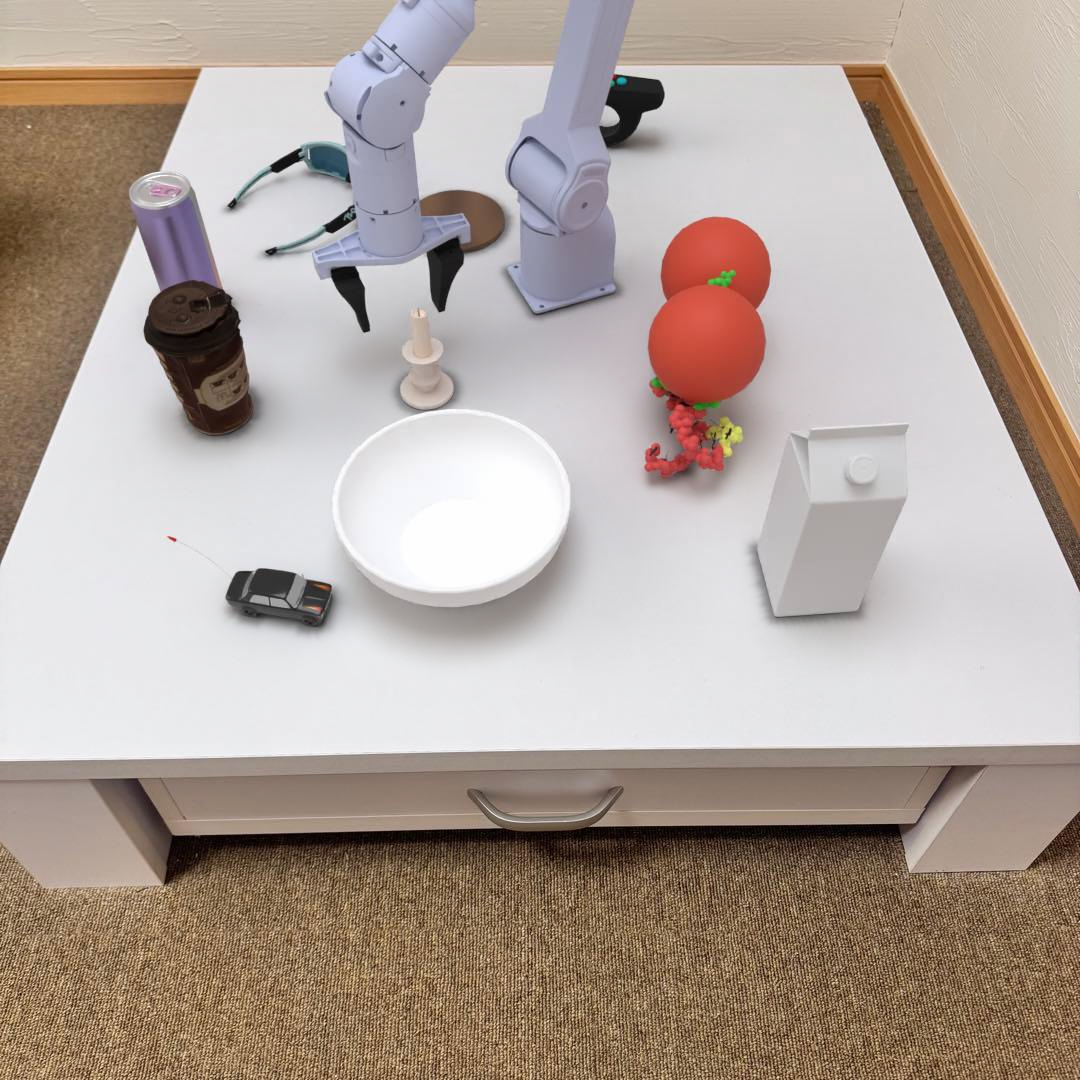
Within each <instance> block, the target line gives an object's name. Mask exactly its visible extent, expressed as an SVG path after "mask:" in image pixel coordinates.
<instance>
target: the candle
mask: <svg viewBox="0 0 1080 1080" xmlns="http://www.w3.org/2000/svg"><path fill="white" fill-rule="evenodd" d="M410 325H411V327H410V328H411V336H412V338H410V339H408V340H407V341H406V342H405V343H404V344H403V346H402V348H401V354H402V357H403V358H404V360H405V361H407V362H408V363H409V364H411V367H410V369H409V370H408V375H406V376H405V377H404V378H403V380H402V381H401V383H400V387H399V394H400V397H401V399H402V400H403V402H404V403H405V404H406V405H408V406H409V407H411V408H414V409H416V410H423V411H424V410H425V411H427V410H428V411H431V410H434V409H438V408H441V407H442V406H444V405H446V404H447V403H448V402H449V401H450V400H451V399H452V397H453V395H454V391H455V388H454V386H455V385H454V382H453V380H452V378H451V376H449V375H448V374H447V373H445V372H443V371H442V368H441V367H440V366H439V365H438V364H437V361H438V360H440V358H441V357H442V356H443V354H444V346H443V344H442V343H441V341H440V340H438V339H437V338H435V337H432V336H431V331H430V325H429V319H428V314H427V312H426V311H425V310H424V309H420V308H419V307H418V308H416V309H412V310H411V311H410Z"/></svg>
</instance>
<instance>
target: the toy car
mask: <svg viewBox="0 0 1080 1080" xmlns="http://www.w3.org/2000/svg"><path fill="white" fill-rule="evenodd" d="M166 538H168V539H169V540H171V541H172V542H173V543H176V542H177V543H180V544H182V545H184V546H185V547H189V549H192V550H194V551H195V552H197V553H198V554H200V555H202V556H203V557H205V558H206V559H208V560H209V561H211V563H213V564H215V566H217V567H218V568H220V569H221V570H222V571H223V572H224V573H225V574H226V575H228V573H227V572H226V571H225V570H224V569H223V568H222V567H220V566H219V565H218V564H217V563H215V562H214V561H213V560H211V559H210V558H209V557H207V556H206V555H204V554H203V553H201V552H200V551H198V550H196V549H194V548H193V547H191V546H189V545H187V544H185V543H183V542H181V541H178V539H177V538H176V537H173V536H170V535H167V536H166ZM229 578H230V579H231V581H230V583H229V585H228V588H227V591H226V593H225V600H226V602H227V604H228V605H229V606H230V607H231V608H234V609H237V610H240V611H241V613H243V614H244V615H245V616H247V617H250V618H255V617H257V615H258V614H265V615H270V616H276V617H280V618H288V619H294V620H300V621H301V622H302V623H303V625H306V626H308V627H316V626H317V625H318V624H322V623H323V622H324V621H325V618H326V617H327V616H326V615H327V614H328V612H329V609H330V605H331V602H332V598H333V585H332V584H330V583H327V582H323V581H320V580H315V579H308V578H305V576H304V574H301V575H299V574H298V573H296V572H293V571H287V570H282V569H274V568H268V567H267V568H266V567H261V568H256V569H255V570H238V571H236V572H235V573H234V575H233V577H232V576H229Z"/></svg>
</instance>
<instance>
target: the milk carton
mask: <svg viewBox="0 0 1080 1080" xmlns="http://www.w3.org/2000/svg"><path fill="white" fill-rule="evenodd" d="M909 426H910V423H909V421H905V422H903V421H902V422H887V423H871V424H854V425H853V424H852V425H839V426H837V425H835V426H821V427H820V426H818V427H811V428H810V429H809V430H797V431H795V430H794V431H788V435H787V439H786V442H785V445H784V450H783V453H782V456H781V461H780V463H779V468H778V470H777V475H776V478H775V482H774V486H773V489H772V493H771V496H770V499H769V504H768V507H767V510H766V514H765V518H764V521H763V524H762V529H761V532H760V536H759V539H758V544H757V546H756V551H757V555H758V560H759V563H760V567H761V570H762V574H763V578H764V582H765V585H766V591H767V594H768V598H769V601H770V605H771V609H772V612H773V616H774V617H778V618H779V617H781V618H782V617H794V616H796V617H797V616H808V615H811V616H812V615H823V614H837V613H852V612H857V611H858V610H859V609H860V606H861V604H862V602H863V599H864V597H865V595H866V593H867V590H868V589H869V586H870V583H871V581H872V579H873V577H874V574H875V572H876V570H877V569H878V565H879V564H880V561H881V558H882V556H883V554H884V552H885V549H886V547H887V546H888V545H887V544H888V543H889V540H890V538H891V536H892V533H893V531H894V529H895V527H896V524H897V523H898V519H899V517H900V515H901V513H902V511H903V509H904V506H905V504H906V501H907V498H908V495H909V490H908V489H909V487H908V465H907V439H906V437H907V436H906V434H907V432H908V429H909Z"/></svg>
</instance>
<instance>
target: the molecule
mask: <svg viewBox="0 0 1080 1080" xmlns="http://www.w3.org/2000/svg"><path fill="white" fill-rule="evenodd" d="M770 259H771V258H770V254H769V251H768V249H767V247H766V244H765V242H764V240H763V239H762V238H761V237H760V235H759V234H758V233H757V231H755V230H753V228H751V227H750V225H747V224H746V223H745V222H742V221H740V220H738V219H736V218H731V217H727V216H709V217H703V218H701V219H698V220H695V221H693V222H691V223H690V224H688V225H687V226H685V227H684V228H682V229H681V230H680V231H678V233H676V235H674V237H673V239H672V240H671V241H670V243H669V244H668V246H667V248H666V249H665V252H664V255H663V257H662V260H661V269H660V270H661V271H660V276H659V277H660V283H661V288H662V293H663V295H664V297H665V299H666V302H665V303H664V304H662V306H661V307H660V308H659V310H658V312H657V313H656V315H655V316H654V318H653V320H652V322H651V326H650V328H649V332H648V341H647V353H648V358H649V359H648V360H649V362H650V366H651V369H652V371H653V372H654V374H655V377H653V378H652V379H650V381H649V384H648V385H649V388H650V389H651V392H652V394H653V395H654V396H655V397H656V398H657V399H660V398H663V397H664V396H665V397H668V399H667V400H666V402H665V406H666V410H667V411H669V412H671V413H670V415H669V417H668V423H669V425H668V427H669V428H670V430H669V434H670V435H672V434H673V433H674V431H675V433H676V437H675V438H676V441H677V442H678V443H679V445H681V446H682V448H683V449H684V452H683V453H682V454H681V453H678V454H676V455H674V459H673V460H671V461H669V460H667V458H668V452H669V451H667V452H666V455H665V458H663V457H659V458H658V456H660V454H661V445H660V444H659V443H658V442H654V443H652V444H651V445H650V447H648V448H646V449H645V451H644V454H645V456H644V460H645V462H646V463H645V464H644V465H643V467H644V470H645V471H646V472H648V473H651V472H657V471H660V473H659V474H660V477H661V478H663V479H667V478H669V477H670V475H674V474H676V472H684V471H685V470H687V467H688V466H690V465H691V464H692V462H695V463H698V467H699V468H700V469H702V470H707V469H708V470H710V471H713V470H714V471H716V472H717V473H720V472H723V471H724V469H725V465H724V458H729V457H731V456H732V455H733V449H732V448H731V444H736V443H738V444H739V443H742V442H743V440H744V436H743V429H742V427H740V426H739V425H738V426H735V424H734V423H733V422H732V421H731V420H730V419H729V417H727V416H726V415H723V416H721V417H720V418H719V423H718V424H717V423H716V422H715V421H714V420H713V419H710V418H709V420H710V421H711V422H713V423H714V424H715V425H716V426H715V425H714V424H711V425H708V423H707V422H706V421H701V420H703V419H704V418H705V417H706V416H707V413H708V412H707V410H706V409H712V410H717V409H719V408H720V403H722V402H723V401H726V400H728V399H731V398H732V397H734V396H735V395H737V394H739V393H740V392H742V391H743V390H745V389H746V388H747V387H748V386H749V385H750V384H751V383H752V382H753V380H754V379H755V378H756V376H757V374H758V373H759V372H760V369H761V367H762V364H763V362H764V359H765V353H766V352H765V351H766V344H767V339H766V333H765V325H764V322H763V321H762V318H761V315H760V314H759V312H758V308H759V307H760V305H761V304H762V302H763V301H764V299H765V298H766V296H767V293H768V291H769V288H770V282H771V276H772V275H771V274H772V267H771V266H772V265H771V260H770ZM695 420H696V421H695ZM711 439H712V442H713V443H712V445H711V450H710V449H709V448H708V447H706V446H705V447H703V443H704V442H708V441H710V440H711ZM716 440H719V441H718V444H717V445H715V444H716ZM699 448H700V450H699Z"/></svg>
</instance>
